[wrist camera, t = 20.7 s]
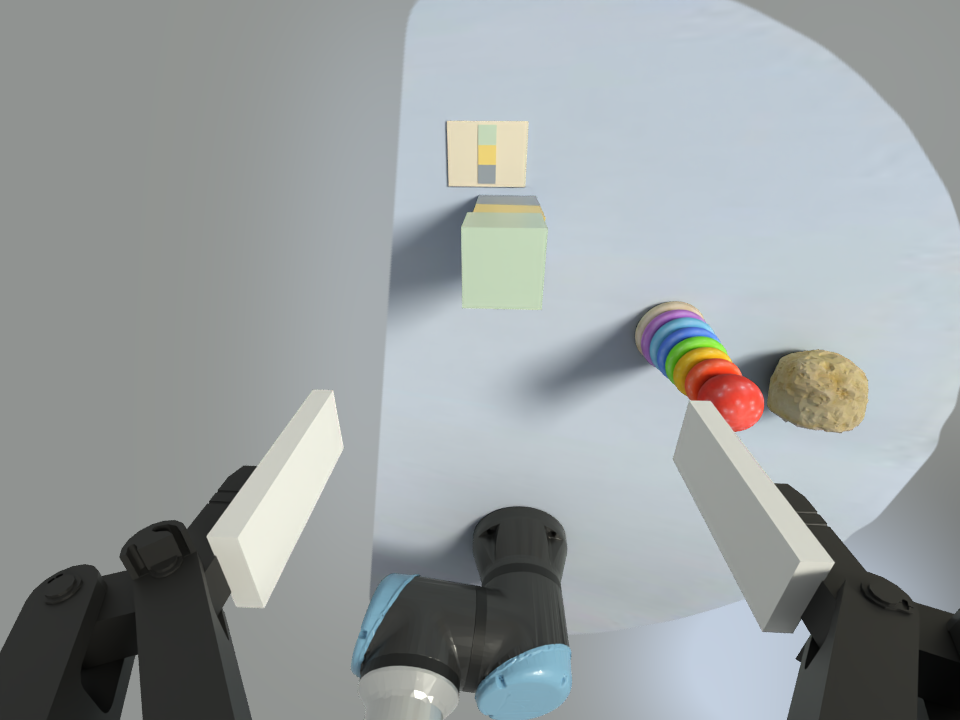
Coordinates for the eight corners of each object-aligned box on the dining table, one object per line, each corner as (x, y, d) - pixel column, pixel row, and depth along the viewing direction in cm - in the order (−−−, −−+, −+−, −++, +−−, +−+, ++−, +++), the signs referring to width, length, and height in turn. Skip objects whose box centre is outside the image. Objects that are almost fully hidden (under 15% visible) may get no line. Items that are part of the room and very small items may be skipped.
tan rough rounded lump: (765, 449, 52) (813, 404, 44) (744, 379, 58) (783, 329, 50) (852, 456, 51) (917, 412, 43) (821, 385, 57) (872, 335, 49)
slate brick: (531, 252, 49) (535, 267, 43) (478, 251, 49) (475, 266, 44) (535, 195, 46) (540, 204, 40) (479, 194, 46) (476, 203, 41)
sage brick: (536, 284, 38) (541, 309, 33) (467, 283, 38) (462, 308, 33) (541, 213, 35) (547, 228, 30) (467, 212, 35) (461, 227, 30)
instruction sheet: (525, 186, 45) (525, 187, 45) (448, 185, 46) (448, 186, 45) (528, 121, 42) (528, 121, 42) (447, 120, 43) (446, 120, 42)
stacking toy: (713, 334, 52) (810, 429, 36) (654, 370, 55) (719, 474, 38) (681, 285, 50) (770, 364, 33) (620, 326, 52) (675, 418, 36)
